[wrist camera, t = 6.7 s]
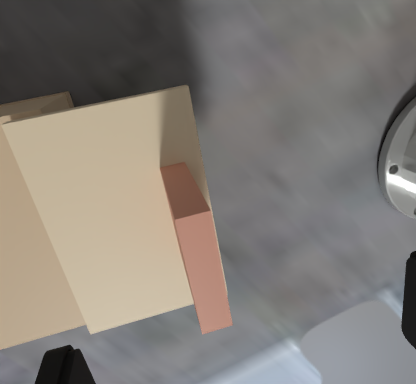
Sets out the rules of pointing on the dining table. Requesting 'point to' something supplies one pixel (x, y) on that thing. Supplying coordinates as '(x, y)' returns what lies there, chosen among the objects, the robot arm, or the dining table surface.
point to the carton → (29, 247)
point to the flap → (126, 207)
